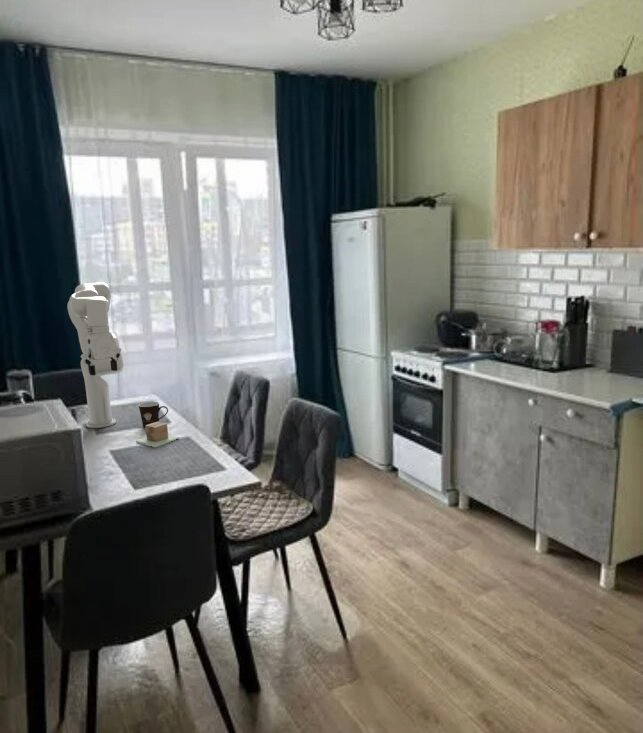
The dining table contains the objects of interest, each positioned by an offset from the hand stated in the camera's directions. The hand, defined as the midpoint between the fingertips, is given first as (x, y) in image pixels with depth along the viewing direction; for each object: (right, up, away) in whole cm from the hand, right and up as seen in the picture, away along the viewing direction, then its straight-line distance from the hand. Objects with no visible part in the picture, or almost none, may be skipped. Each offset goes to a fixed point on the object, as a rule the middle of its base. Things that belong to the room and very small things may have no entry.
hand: (103, 372), depth 235 cm
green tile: (+21, -27, +3) cm, 34 cm away
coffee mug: (+13, -24, +23) cm, 36 cm away
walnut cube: (+21, -27, +3) cm, 34 cm away
